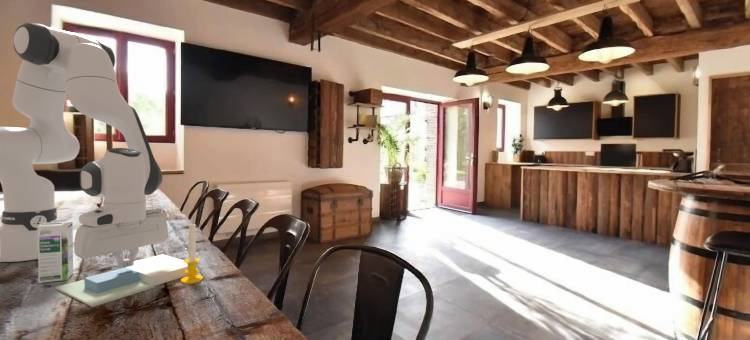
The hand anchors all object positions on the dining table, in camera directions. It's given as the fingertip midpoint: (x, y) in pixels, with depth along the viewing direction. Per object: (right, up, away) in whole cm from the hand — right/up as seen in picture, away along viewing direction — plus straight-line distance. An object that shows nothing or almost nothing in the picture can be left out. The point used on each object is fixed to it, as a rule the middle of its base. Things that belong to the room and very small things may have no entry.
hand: (125, 266), depth 90 cm
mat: (-2, -4, -4) cm, 6 cm away
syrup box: (-19, -4, +1) cm, 19 cm away
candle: (+15, -5, +3) cm, 16 cm away
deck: (+4, -4, +7) cm, 9 cm away
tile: (-1, -4, -3) cm, 5 cm away
